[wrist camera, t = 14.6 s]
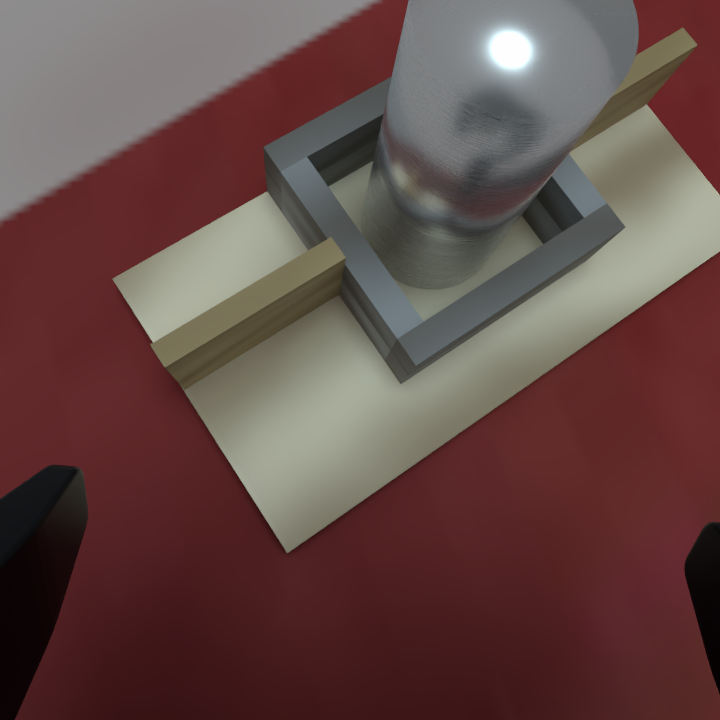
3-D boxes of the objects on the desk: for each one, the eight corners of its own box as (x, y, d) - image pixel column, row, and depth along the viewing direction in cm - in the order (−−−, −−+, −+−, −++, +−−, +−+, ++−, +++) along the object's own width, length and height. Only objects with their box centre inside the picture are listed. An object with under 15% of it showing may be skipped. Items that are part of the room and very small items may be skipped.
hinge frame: (732, 241, 26) (818, 187, 22) (287, 551, 22) (285, 561, 18) (566, 34, 28) (616, -55, 24) (119, 288, 24) (80, 238, 19)
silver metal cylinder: (392, 308, 23) (467, 149, 13) (340, 186, 24) (373, -52, 14) (517, 263, 24) (678, 81, 14) (462, 146, 25) (577, -105, 15)
